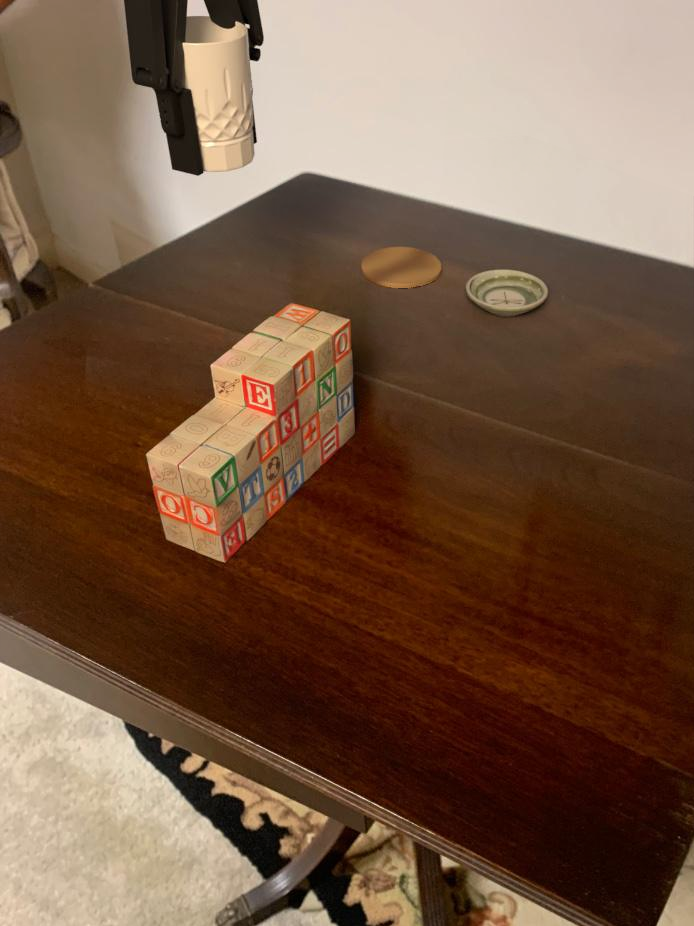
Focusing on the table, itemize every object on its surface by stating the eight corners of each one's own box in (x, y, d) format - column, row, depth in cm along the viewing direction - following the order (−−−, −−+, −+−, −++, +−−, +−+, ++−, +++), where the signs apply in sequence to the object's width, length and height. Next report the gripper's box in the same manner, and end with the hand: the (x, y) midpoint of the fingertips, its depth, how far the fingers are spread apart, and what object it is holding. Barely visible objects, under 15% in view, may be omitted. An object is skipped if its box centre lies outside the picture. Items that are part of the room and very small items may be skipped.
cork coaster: (346, 276, 109) (346, 271, 108) (385, 244, 115) (385, 240, 114) (418, 296, 106) (418, 291, 105) (454, 263, 112) (454, 258, 112)
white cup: (206, 135, 83) (187, 10, 75) (278, 152, 81) (266, 25, 73) (152, 163, 78) (127, 32, 70) (227, 182, 76) (210, 49, 68)
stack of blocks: (226, 566, 73) (202, 445, 64) (165, 542, 75) (133, 420, 66) (356, 432, 87) (351, 316, 78) (302, 414, 88) (291, 298, 79)
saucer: (530, 283, 109) (532, 264, 107) (557, 322, 103) (560, 303, 101) (455, 290, 107) (455, 271, 105) (478, 331, 101) (479, 311, 99)
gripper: (115, -167, 55) (180, 206, 71) (290, -192, 68) (311, 128, 84) (20, -179, 57) (105, 186, 73) (208, -201, 70) (245, 113, 86)
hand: (215, 155), depth 79 cm, fingers closed on white cup, 8 cm apart
